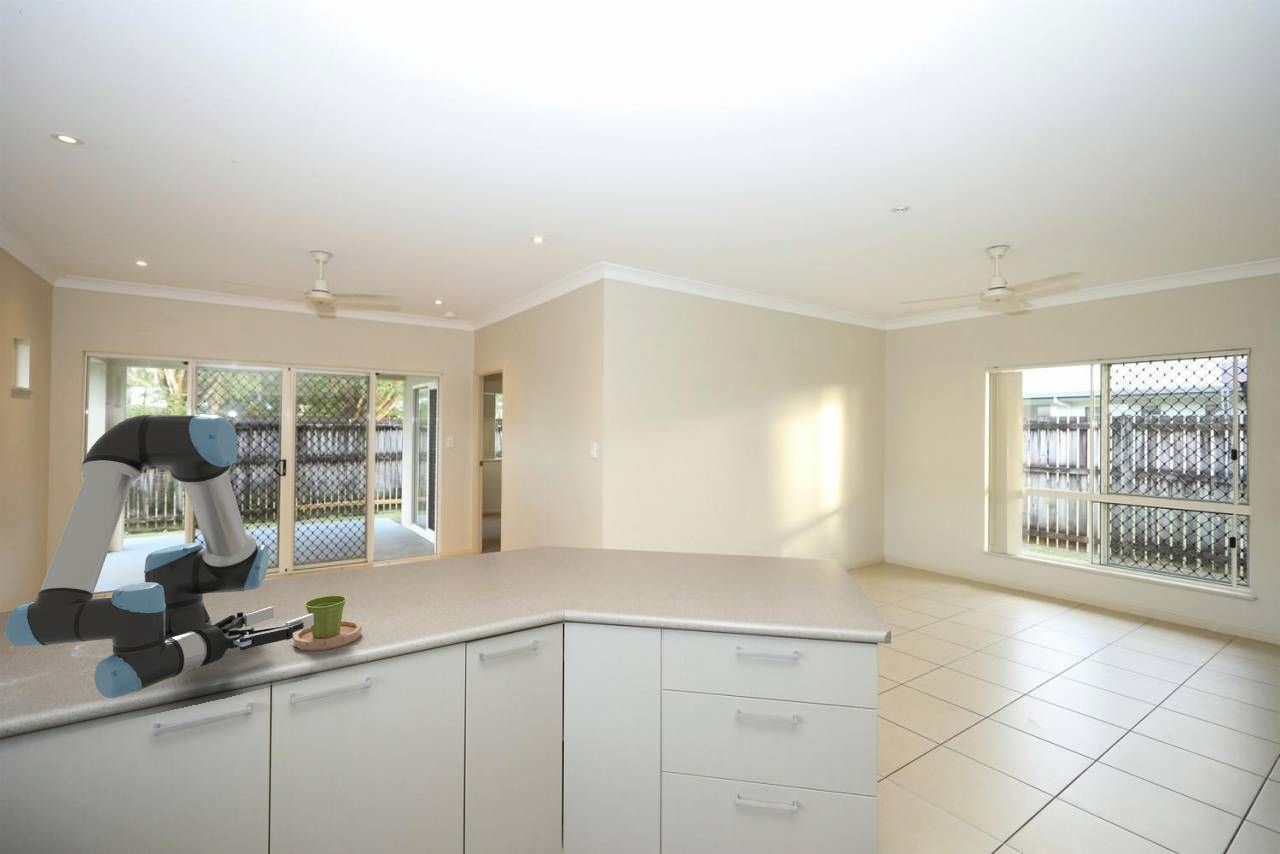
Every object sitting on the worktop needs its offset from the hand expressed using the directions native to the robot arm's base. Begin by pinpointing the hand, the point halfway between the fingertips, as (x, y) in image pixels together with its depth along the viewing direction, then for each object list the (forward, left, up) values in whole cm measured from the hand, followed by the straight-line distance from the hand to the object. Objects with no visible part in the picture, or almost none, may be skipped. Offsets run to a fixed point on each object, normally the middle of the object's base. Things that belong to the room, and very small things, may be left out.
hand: (292, 615), depth 137 cm
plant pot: (0, +9, -8) cm, 12 cm away
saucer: (0, +10, -9) cm, 13 cm away
